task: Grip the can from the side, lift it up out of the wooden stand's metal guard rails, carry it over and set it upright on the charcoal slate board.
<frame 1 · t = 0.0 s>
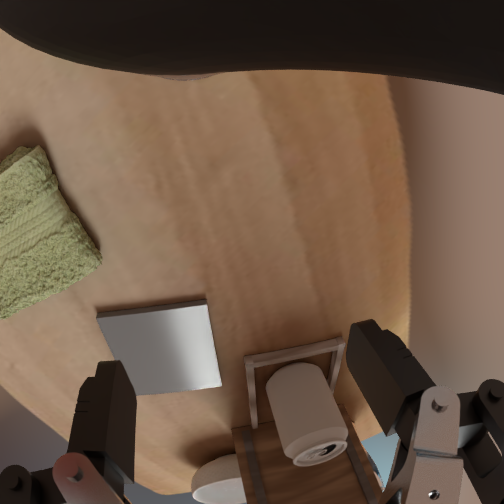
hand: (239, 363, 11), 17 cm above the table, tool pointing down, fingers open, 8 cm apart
can: (292, 375, 40), resting in wooden stand
washcloth: (9, 239, 24), on the table
cereal bowl: (233, 460, 51), on the table
wooden stand: (291, 385, 40), on the table
slate board: (164, 352, 33), on the table
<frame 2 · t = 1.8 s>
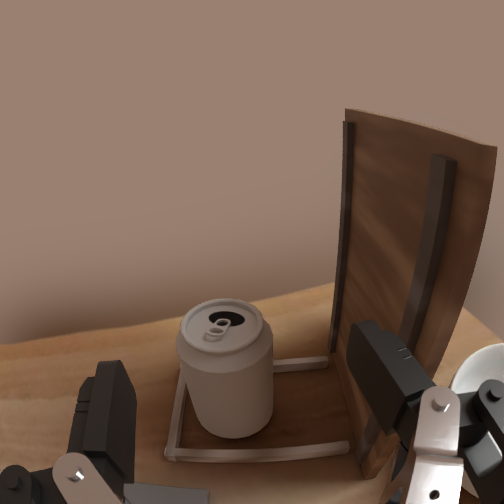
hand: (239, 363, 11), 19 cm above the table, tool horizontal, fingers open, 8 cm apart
can: (235, 412, 29), resting in wooden stand
cereal bowl: (492, 448, 20), on the table
wooden stand: (255, 410, 29), on the table
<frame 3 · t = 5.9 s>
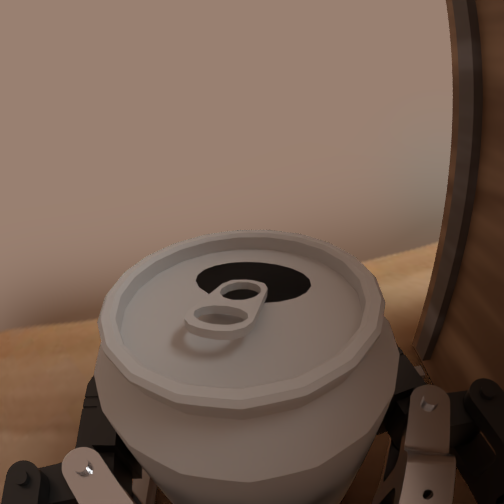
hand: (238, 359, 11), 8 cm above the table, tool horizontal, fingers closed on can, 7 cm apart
can: (260, 489, 12), resting in wooden stand, touching gripper
wooden stand: (302, 485, 12), on the table
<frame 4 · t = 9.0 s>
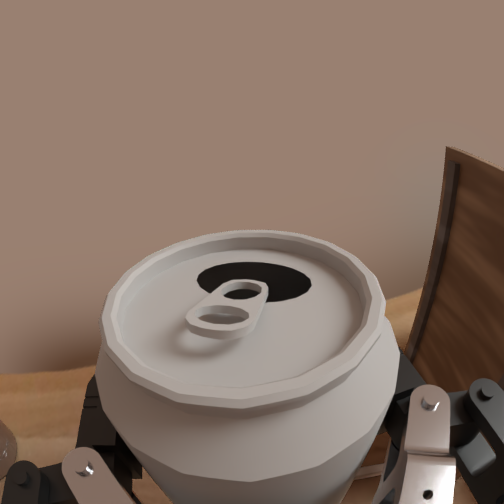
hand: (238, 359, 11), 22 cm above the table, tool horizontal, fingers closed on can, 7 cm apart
can: (261, 489, 12), point 14 cm above the table, touching gripper
wooden stand: (347, 431, 28), on the table
when the fingers open (9 cm above the table, at t = 12.3 s): can drops 1 cm, resting on slate board.
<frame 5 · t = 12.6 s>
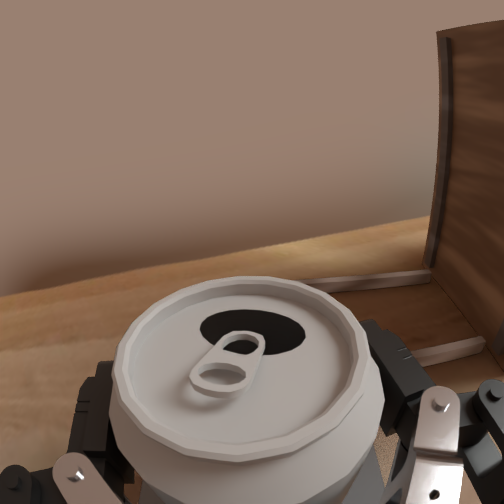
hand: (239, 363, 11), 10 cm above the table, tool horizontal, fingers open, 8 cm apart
can: (260, 501, 13), point 1 cm above the table, touching slate board
wooden stand: (377, 322, 26), on the table
slate board: (261, 502, 13), on the table
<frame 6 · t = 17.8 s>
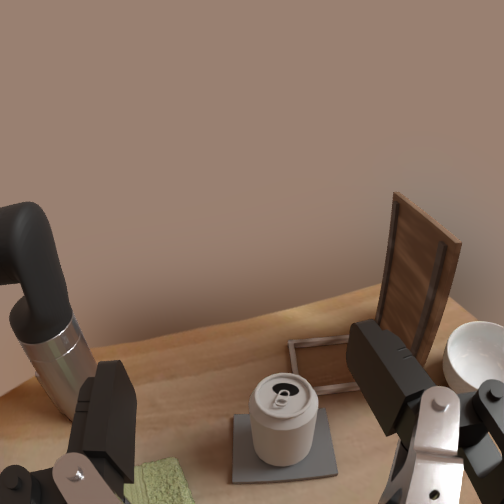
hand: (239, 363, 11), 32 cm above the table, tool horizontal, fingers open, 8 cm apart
can: (282, 446, 37), point 1 cm above the table, touching slate board
cereal bowl: (476, 383, 41), on the table
wooden stand: (339, 364, 50), on the table
slate board: (282, 446, 37), on the table
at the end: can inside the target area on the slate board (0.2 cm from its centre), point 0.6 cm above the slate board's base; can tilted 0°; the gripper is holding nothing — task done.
